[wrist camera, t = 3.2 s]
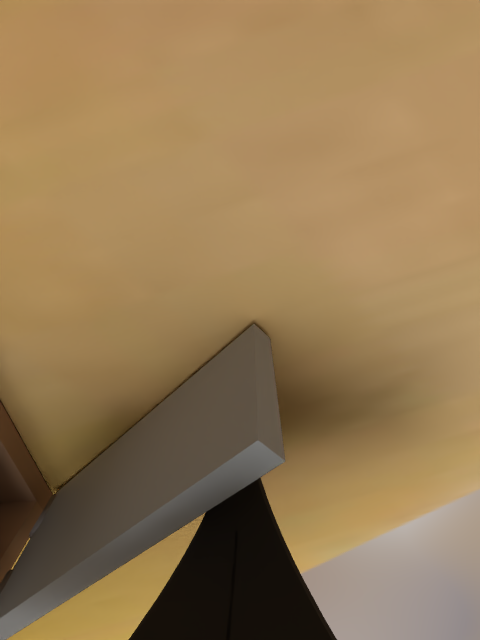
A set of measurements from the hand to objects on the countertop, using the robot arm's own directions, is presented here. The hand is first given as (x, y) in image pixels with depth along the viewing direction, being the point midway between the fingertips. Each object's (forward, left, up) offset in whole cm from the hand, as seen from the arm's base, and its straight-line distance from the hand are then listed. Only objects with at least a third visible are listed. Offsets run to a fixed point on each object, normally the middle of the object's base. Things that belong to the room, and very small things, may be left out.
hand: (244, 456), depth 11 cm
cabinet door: (-4, 0, -2) cm, 4 cm away
